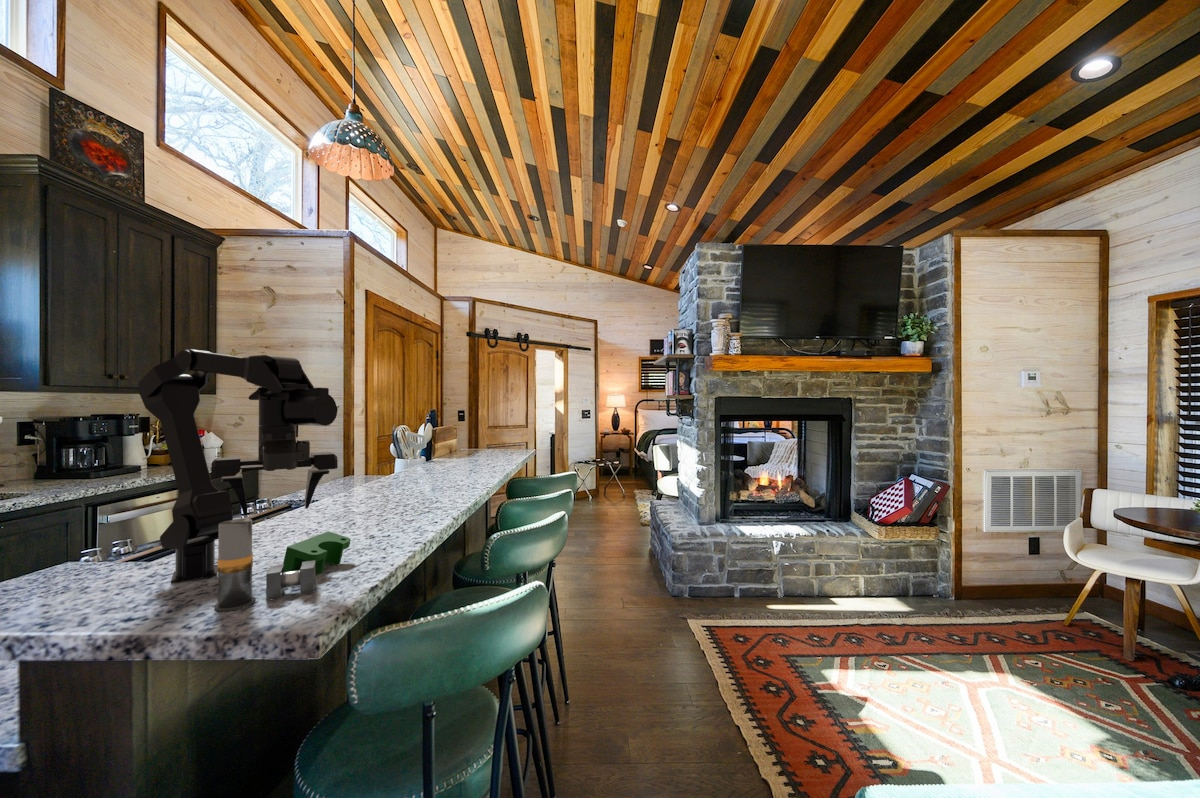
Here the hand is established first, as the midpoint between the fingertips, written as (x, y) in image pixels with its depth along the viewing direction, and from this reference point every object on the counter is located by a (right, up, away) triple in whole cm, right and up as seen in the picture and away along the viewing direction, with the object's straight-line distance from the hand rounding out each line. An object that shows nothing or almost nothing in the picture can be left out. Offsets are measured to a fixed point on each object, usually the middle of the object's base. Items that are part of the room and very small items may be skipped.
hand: (277, 511), depth 89 cm
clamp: (+3, -13, +8) cm, 16 cm away
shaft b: (+5, -13, -4) cm, 15 cm away
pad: (-1, -13, -9) cm, 16 cm away
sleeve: (-1, -13, -9) cm, 16 cm away
